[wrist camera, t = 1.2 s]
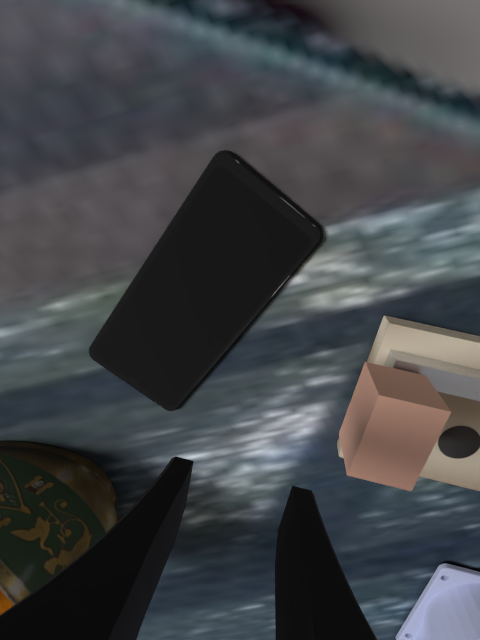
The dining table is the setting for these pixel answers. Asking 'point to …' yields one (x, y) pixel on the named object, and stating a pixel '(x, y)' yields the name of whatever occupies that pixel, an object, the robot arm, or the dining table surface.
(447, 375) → the divider bar
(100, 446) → the dining table surface
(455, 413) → the hole plate
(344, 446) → the brownish pink rectangular block
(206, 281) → the smartphone
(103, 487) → the cup
